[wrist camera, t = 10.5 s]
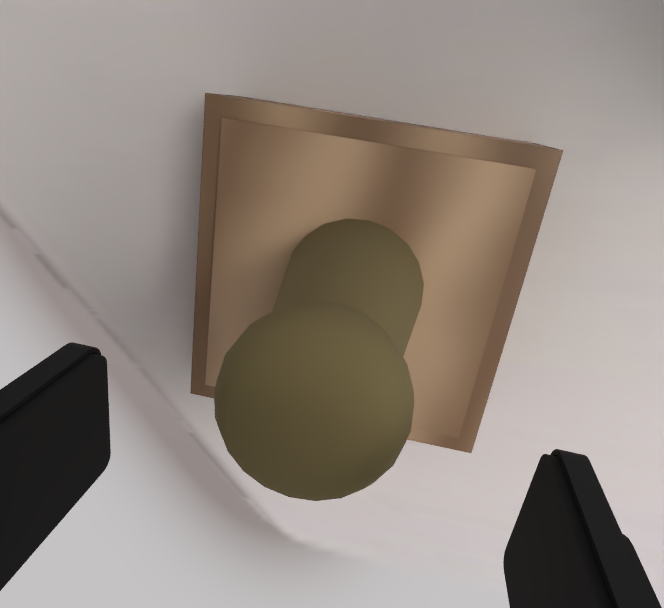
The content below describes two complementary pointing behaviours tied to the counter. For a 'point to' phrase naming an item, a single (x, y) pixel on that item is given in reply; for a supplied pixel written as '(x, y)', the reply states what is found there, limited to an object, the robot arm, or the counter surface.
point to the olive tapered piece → (326, 366)
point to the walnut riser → (379, 207)
